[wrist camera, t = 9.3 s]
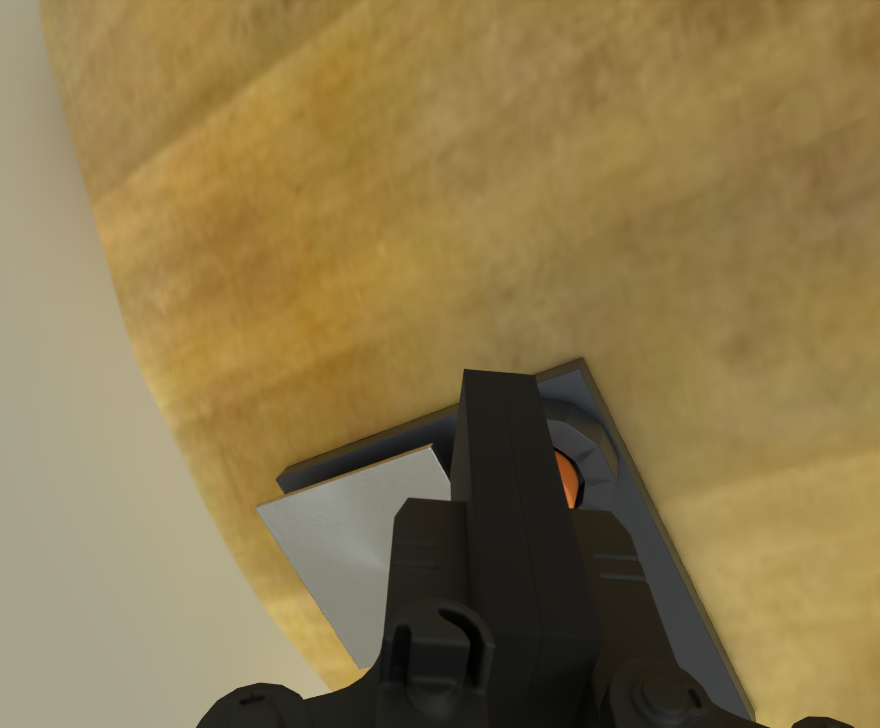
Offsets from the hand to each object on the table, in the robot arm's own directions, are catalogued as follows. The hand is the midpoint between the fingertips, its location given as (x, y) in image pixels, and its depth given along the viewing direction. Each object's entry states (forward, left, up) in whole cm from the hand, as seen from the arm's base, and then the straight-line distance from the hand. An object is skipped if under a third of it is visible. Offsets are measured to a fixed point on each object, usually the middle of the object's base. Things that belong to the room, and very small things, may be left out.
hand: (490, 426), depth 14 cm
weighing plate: (0, -16, -11) cm, 19 cm away
